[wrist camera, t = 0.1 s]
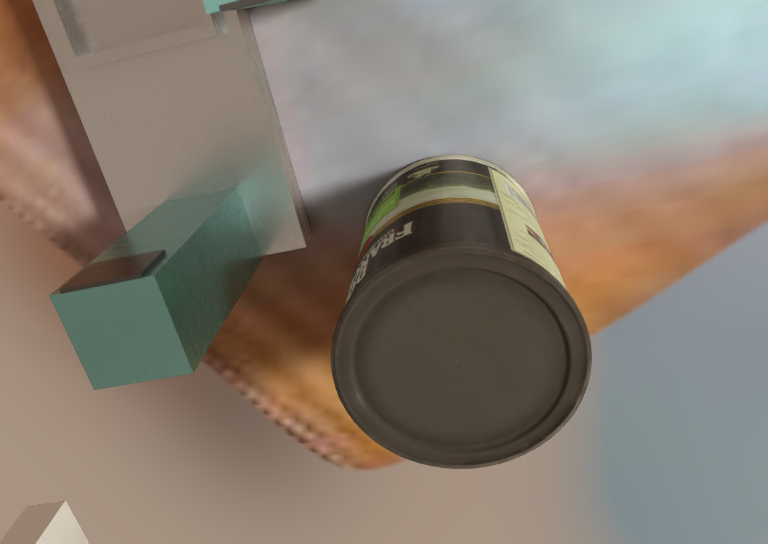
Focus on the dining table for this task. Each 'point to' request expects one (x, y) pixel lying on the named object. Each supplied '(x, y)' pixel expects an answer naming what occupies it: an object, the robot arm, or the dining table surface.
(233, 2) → the mint green block
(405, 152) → the dining table surface
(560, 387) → the coffee can
